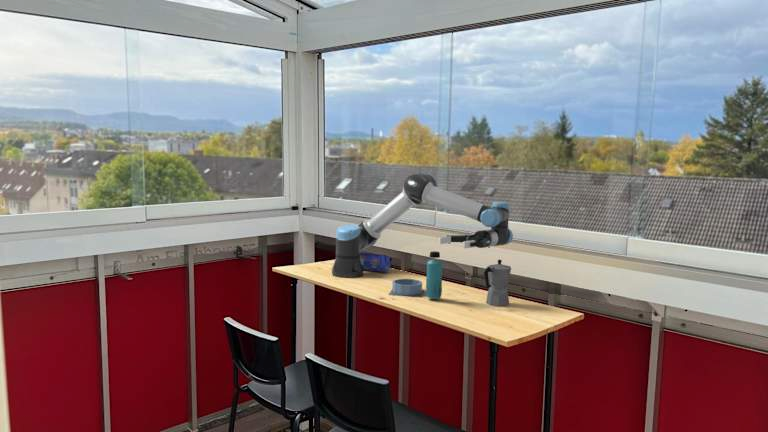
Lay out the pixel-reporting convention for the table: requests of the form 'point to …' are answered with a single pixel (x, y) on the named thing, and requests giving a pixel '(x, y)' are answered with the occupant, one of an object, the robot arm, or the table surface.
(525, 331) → the table surface
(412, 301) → the table surface
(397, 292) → the bowl
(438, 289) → the beverage bottle
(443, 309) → the table surface
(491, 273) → the coffeepot
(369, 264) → the pencil case
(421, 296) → the mat
